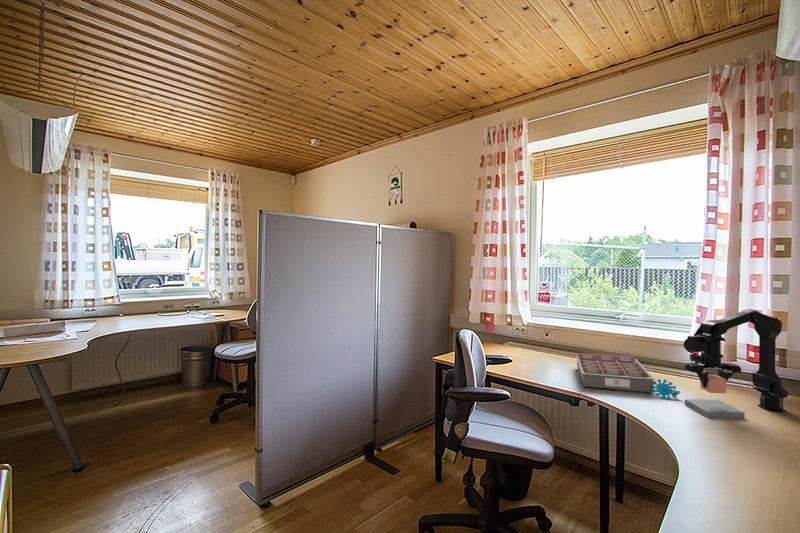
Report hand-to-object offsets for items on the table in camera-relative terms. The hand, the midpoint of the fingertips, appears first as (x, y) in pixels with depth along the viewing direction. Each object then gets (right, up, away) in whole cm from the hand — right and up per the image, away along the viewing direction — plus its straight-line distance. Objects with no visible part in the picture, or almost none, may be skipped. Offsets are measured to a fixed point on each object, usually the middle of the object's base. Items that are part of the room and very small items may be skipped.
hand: (712, 387), depth 157 cm
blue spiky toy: (-8, -11, +17) cm, 22 cm away
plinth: (0, -10, 0) cm, 10 cm away
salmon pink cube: (0, -1, 0) cm, 1 cm away
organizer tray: (-18, -11, +44) cm, 49 cm away
